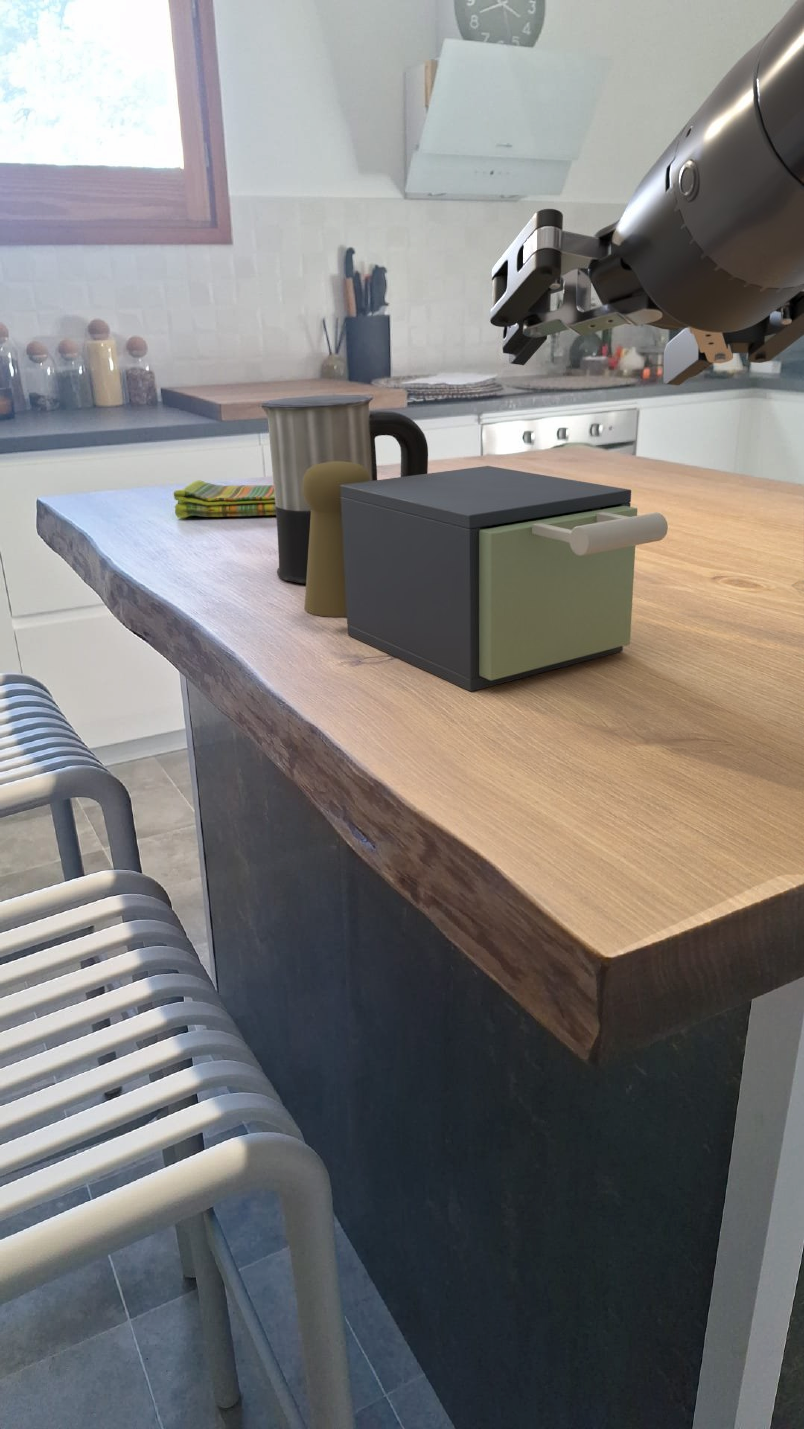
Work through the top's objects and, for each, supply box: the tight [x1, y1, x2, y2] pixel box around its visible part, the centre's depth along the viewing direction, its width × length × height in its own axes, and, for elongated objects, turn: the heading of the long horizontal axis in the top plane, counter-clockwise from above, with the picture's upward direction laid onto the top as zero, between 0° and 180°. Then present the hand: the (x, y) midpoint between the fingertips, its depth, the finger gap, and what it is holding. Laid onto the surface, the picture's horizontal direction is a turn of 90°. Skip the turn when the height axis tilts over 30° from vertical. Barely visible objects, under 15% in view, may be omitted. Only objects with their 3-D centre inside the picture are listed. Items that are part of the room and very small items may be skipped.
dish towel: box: [173, 479, 276, 519], centre depth 122 cm, size 15×36×3 cm, turn 91°
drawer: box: [479, 506, 669, 680], centre depth 64 cm, size 18×11×9 cm, turn 33°
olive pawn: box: [302, 461, 371, 618], centre depth 78 cm, size 6×6×11 cm
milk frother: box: [260, 394, 429, 585], centre depth 91 cm, size 14×16×15 cm
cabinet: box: [340, 465, 632, 692], centre depth 68 cm, size 15×13×11 cm
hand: (593, 357), depth 53 cm, fingers open, 8 cm apart
